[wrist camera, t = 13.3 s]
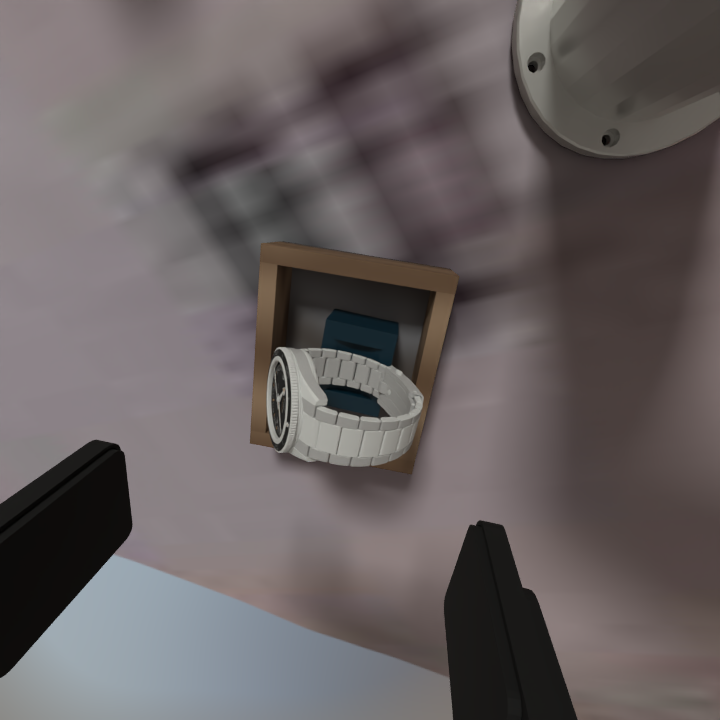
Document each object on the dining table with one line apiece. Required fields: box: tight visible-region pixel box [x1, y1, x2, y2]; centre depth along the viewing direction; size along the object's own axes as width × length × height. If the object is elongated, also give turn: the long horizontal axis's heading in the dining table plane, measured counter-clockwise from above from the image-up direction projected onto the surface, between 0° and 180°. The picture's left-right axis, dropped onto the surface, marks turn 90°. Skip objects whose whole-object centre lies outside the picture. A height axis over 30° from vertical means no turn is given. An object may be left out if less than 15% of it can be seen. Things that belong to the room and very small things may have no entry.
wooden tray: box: [250, 241, 459, 474], centre depth 24 cm, size 13×11×4 cm
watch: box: [266, 309, 424, 467], centre depth 20 cm, size 6×8×11 cm
